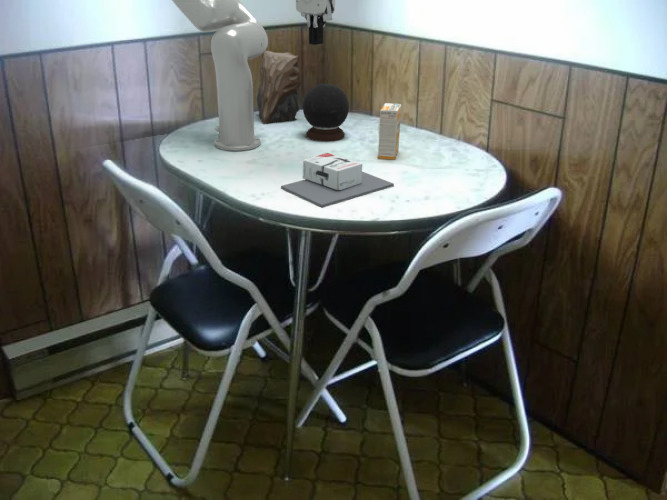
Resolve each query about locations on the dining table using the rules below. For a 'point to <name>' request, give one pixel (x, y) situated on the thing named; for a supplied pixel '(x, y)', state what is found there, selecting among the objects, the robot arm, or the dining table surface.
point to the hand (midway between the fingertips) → (315, 43)
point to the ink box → (332, 171)
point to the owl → (278, 87)
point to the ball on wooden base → (325, 112)
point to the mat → (331, 196)
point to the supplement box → (389, 131)
